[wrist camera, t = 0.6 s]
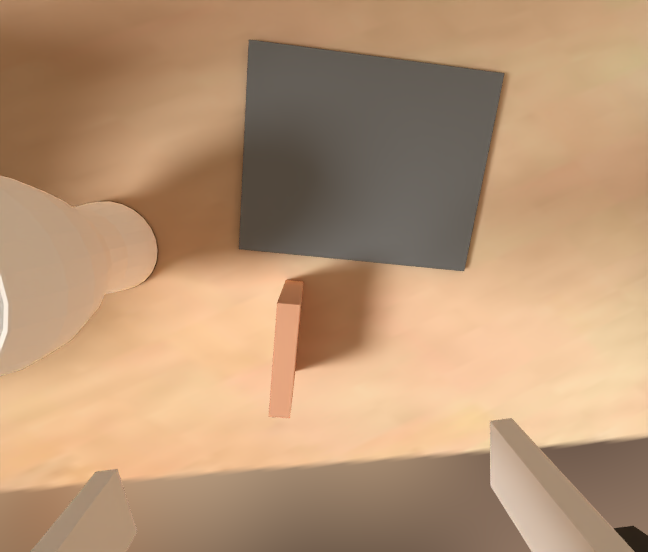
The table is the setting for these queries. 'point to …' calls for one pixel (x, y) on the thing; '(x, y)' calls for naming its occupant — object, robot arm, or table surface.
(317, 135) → the mat
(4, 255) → the cup
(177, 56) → the table surface
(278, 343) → the slab
